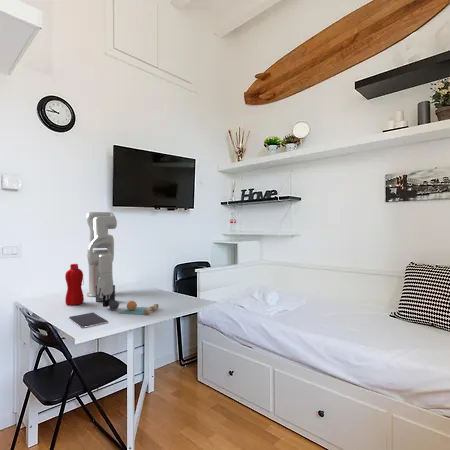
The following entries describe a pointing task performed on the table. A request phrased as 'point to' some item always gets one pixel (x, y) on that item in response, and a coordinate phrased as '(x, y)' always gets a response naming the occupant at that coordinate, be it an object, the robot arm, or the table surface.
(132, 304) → the orange ball
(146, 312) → the stopper strip
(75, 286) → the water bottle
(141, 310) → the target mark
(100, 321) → the notebook
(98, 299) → the small box
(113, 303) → the dark gray ball
